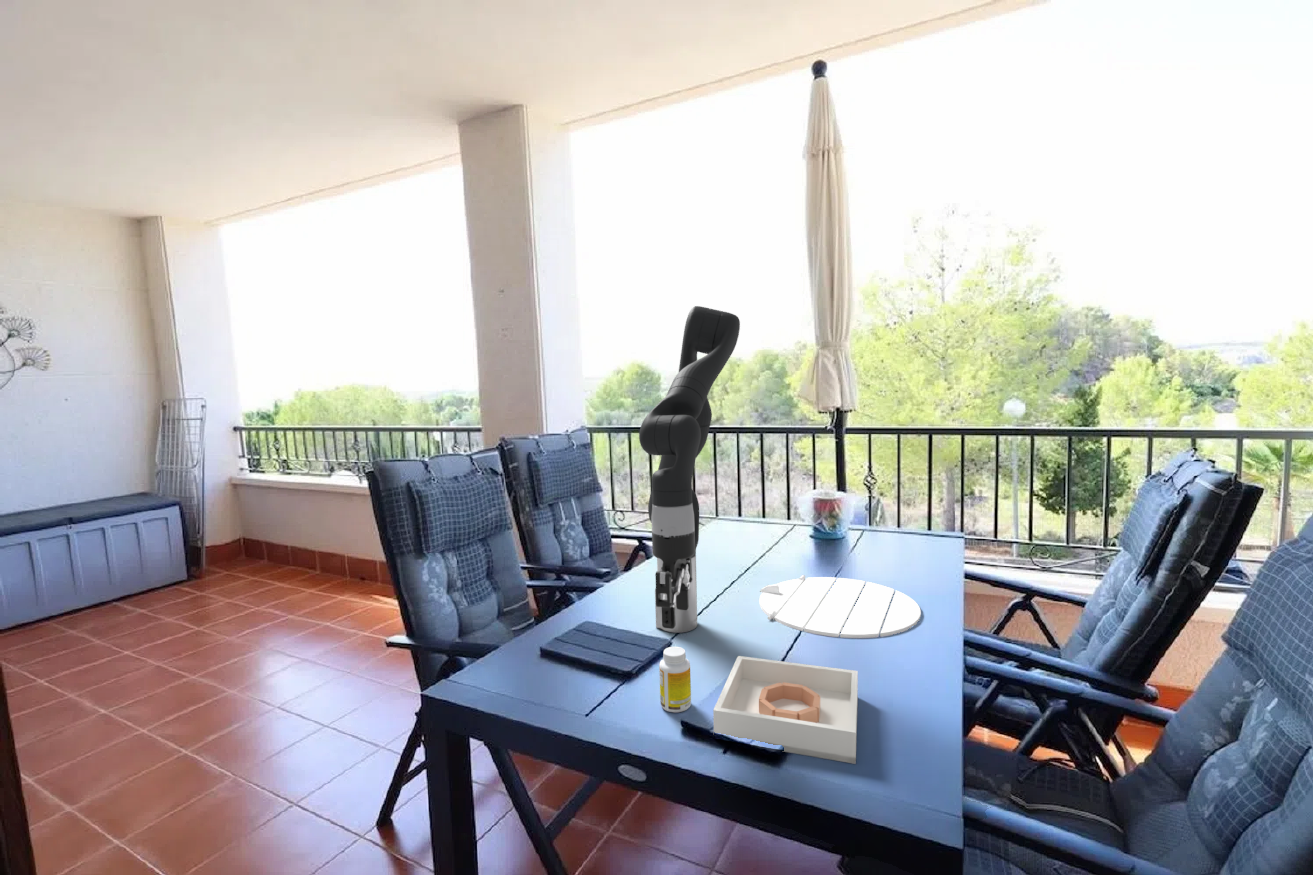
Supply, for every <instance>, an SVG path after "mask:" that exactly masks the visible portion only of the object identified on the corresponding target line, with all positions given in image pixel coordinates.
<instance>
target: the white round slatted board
mask: <svg viewBox="0 0 1313 875" xmlns="http://www.w3.org/2000/svg"><path fill="white" fill-rule="evenodd" d="M835 581H836V582H835ZM865 583H866V584H865ZM833 584H834V585H833ZM864 585H865V586H864ZM831 587H832V588H831ZM863 587H864V588H863ZM829 590H830V591H829ZM861 591H862V592H861ZM759 592H760V593H761V594H760V596H759V598H758V600H759V607H760V609H761V611H762V612H763V613H764V614H765V615H767V619H768V620H769V621H771V620H773V621H775V622H777V623H778V624H781V625H783V626H786V627H788V628H791V629H793V630H796V631H797V630H798V631H800V632H803V631H804V632H805V633H809V634H813V635H817V636H823V637H824V636H825V637H833V638H839V637H840V638H841V639H844V638H845V639H872V638H873V639H875V638H878V637H879V636H880V637H881V638H883V637H888V636H889V637H890V636H894V635H897V633H898V634H901V633H903V632H906V631H908V629H909V628H910V629H912V628H913V627H912V626H914V625H915V626H916V625H917V624H918V623H919V622H920V620H921V618H920V617H922V610H921V608H920V606H919V604H918V603H917V602H916V601H915V599H913V598H911V596H909V595H907V594H905V593H903V592H901V591H899V590H895V589H894V588H892V587H889V586H885V585H883V584H880V583H879V584H878V583H875V582H871V581H865V580H861V579H855V578H846V577H835V576H834V577H833V576H832V577H831V576H815V577H814V576H813V577H806V575H803V574H802V575H801V576H800V577H799V578H795V579H789V580H785V581H784V580H783V581H781V582H778V583H777V582H776V583H775V584H767V585H766V586H764V587H762V588H760V590H759ZM827 593H828V594H827ZM860 593H861V594H860ZM893 594H894V595H893ZM858 597H859V598H858ZM892 597H893V598H892ZM857 599H858V600H857ZM891 599H892V601H891ZM856 601H857V602H856ZM890 602H891V603H890ZM855 603H856V604H855ZM854 605H855V606H854ZM889 605H890V606H889ZM888 608H889V609H888ZM886 613H887V614H886ZM847 618H848V619H847ZM884 619H885V620H884ZM919 619H920V620H919ZM918 621H919V622H918ZM917 622H918V623H917ZM843 626H844V627H843ZM915 626H914V627H915ZM881 627H882V628H881ZM911 627H912V628H911ZM910 629H909V630H910ZM840 632H841V633H840ZM900 632H901V633H900ZM893 634H894V635H893Z"/></svg>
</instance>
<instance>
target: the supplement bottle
mask: <svg viewBox="0 0 1313 875" xmlns="http://www.w3.org/2000/svg"><path fill="white" fill-rule="evenodd" d="M662 656H663V657H662V659H661V660H660V662H659V666H658V667H659V668H658V669H659V671H658V672H659V673H658V674H659V698H660V702H659V703H660V706H661V708H662V709H663V710H665V711H666V712H670V713H683V712H685V711H687V710H688V709H689V708H690V707H691V705H692V690H691V688H692V686H691V682H692V681H691V663H690V660H689V659H688V658H687V657H686V656H687V655H686V650H685V648H683V647H681V646H669V647H666V648H665V649H663V655H662Z"/></svg>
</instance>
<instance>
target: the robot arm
mask: <svg viewBox="0 0 1313 875" xmlns="http://www.w3.org/2000/svg"><path fill="white" fill-rule="evenodd" d="M740 327H741V321H740V319H739V317H738V316H737V315H736V314H734V313H731V312H727V311H723V310H720V309H719V310H718V309H713V308H709V307H705V306H699V305H696V306H695V305H694V306H693V307H691V309H690V310H689V313H688V315H687V318H686V321H685V325H684V328H683V330H684V331H683V336H682V338H683V339H682V343H681V350H680V359H679V367H678V372H677V374H676V375H675V376H674V379H673V381H672V383H671V384H670V386H669V389H668V392H667V393H666V396H664V398H662V399H661V401H659V402H658V403H657V404H656V405H655V406H654V407H653V408H652V409H651V411H649V413H647V415H646V416H645V418H643V420H642V423H641V425H640V429H639V433H638V434H639V435H638V439H639V443H640V446H641V448H642V450H643V451H644V452H645V453H647V454H649V455H652V456H660V457H661V458H660V460H659V466H658V469H657V470H655V471H654V472H653V473H652V475H651V491H650V494H649V499H648V510H647V511H648V512H647V513H648V517H649V521H650V523H651V541H652V542H651V543H652V546H651V548H652V549H651V550H652V556H654V557H655V558H656V565H657V566H656V569H657V570H656V572H655V575H654V577H655V589H654V599H655V600H654V601H655V602H654V604H655V628H657V629H661V630H663V631H665V632H667V633H668V632H669V633H677V634H678V633H679V634H680V633H687V632H690V631H693V630H695V629H696V628H697V627H698V592H697V589H698V588H697V582H698V581H697V547H698V544H699V539H700V538H699V535H700V504H699V500H698V496H697V494H696V492H695V491H694V489H693V483H692V482H693V474H694V469H695V463H696V459H697V458H698V457H699V455H700V453H701V452H702V450H703V448H704V447H705V444H706V443H707V440H708V436H709V431H710V427H711V423H712V416H713V412H712V408H711V405H710V401H709V399H708V395H709V392H710V391H711V389H712V387H713V384H714V383H715V381H716V380H717V378H718V377H719V375H720V374H721V372H722V371H723V369H724V368H725V366H726V364H727V363H728V362H729V360H730V358H731V356H732V355H733V353H734V350H735V348H736V346H737V342H738V339H739V336H740V330H741V328H740ZM698 353H702V354H705V356H703V357H701V358H699V359H698Z"/></svg>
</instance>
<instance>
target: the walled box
mask: <svg viewBox="0 0 1313 875" xmlns="http://www.w3.org/2000/svg"><path fill="white" fill-rule="evenodd" d="M858 672H859V671H858V670H854V669H853V670H852V669H845V668H837V667H830V666H820V665H813V664H805V663H799V662H798V663H797V662H789V661H781V660H773V659H767V658H766V659H765V658H758V657H752V656H751V657H750V656H743V655H737V657H736V659H735V662H734V664H733V665H732V668H731V670H730V673H729V675H728V677H727V679H726V681H725V684H724V686H723V688H722V690H721V692H720V695H719V696H718V699H717V701H716V703H715V705H714V708H713V709H712V710H713V711H712V712H713V713H712V714H713V716H712V717H713V718H712V719H713V733H714V732H715V733H721V734H726V735H731V736H734V737H738V738H747V739H752V740H756V741H760V742H765V743H768V744H773V745H782V746H783V747H784V751H783V752H785V753H791V754H797V755H803V756H806V757H807V756H809V757H813V758H818V759H825V760H831V761H836V762H842V763H849V764H853V765H856V764H857V762H856V761H857V733H858V732H857V729H858V728H857V727H858V696H859V695H858V693H859V692H858V691H859V690H858V688H859V687H858V686H859V680H858V679H859V674H858Z"/></svg>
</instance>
